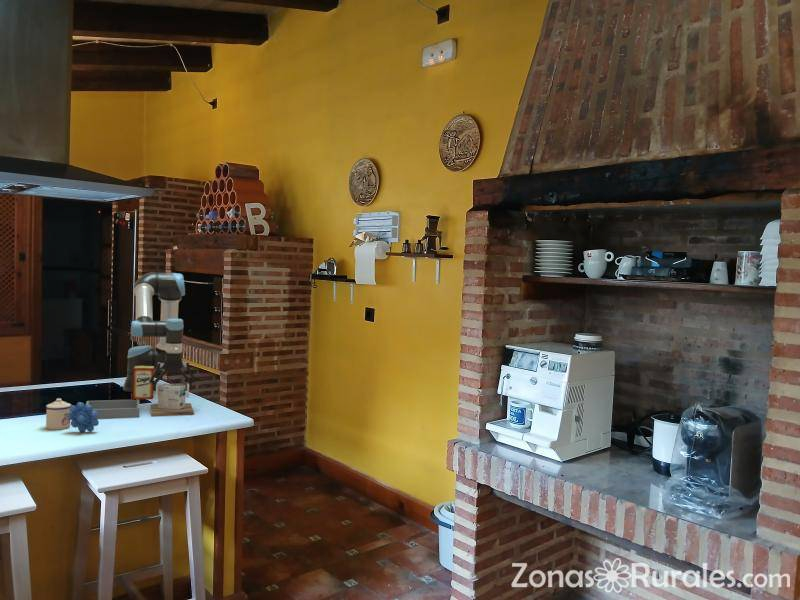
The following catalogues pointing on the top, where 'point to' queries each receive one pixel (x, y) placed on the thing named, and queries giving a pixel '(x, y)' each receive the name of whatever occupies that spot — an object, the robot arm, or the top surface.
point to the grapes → (83, 417)
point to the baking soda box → (142, 382)
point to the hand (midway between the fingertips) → (172, 397)
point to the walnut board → (171, 410)
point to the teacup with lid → (57, 415)
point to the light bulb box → (171, 396)
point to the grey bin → (115, 408)
